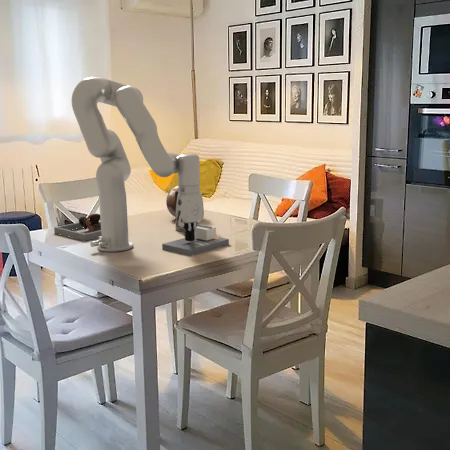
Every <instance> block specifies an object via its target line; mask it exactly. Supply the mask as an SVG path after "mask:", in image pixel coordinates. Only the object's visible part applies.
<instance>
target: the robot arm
mask: <svg viewBox="0 0 450 450" xmlns="http://www.w3.org/2000/svg"><path fill="white" fill-rule="evenodd" d="M98 103H101V104H102V103H103V104H104V105H105V104H106V105H109V106H112V107H116V109H117V111H118V112H119V113H120V115H121V117H122V118H123V119H124V121H125V122H126V124H127V125H128V128H129V129H130V131H131V133H132V134H133V136H134V138H135V141H136V143H137V145H138V148H139V150H140V151H141V153H142V156H143V157H144V159H145V161H146V162H147V164H148V165H149V167H150V168H151V170H152V171H153V172H154V174H156V176H158V177H160V178H168V177H170V176H172V175H173V174H177V182H178V183H177V186H178V189H177V191H178V196H177V203H176V219H177V221H178V226H180V227H183V229H184V230H185V231H184V238H185V240H186V241H190V242H191V241H194V240H195V229H196V225H197V224H198V223H199V224H200V223H201V222H202V220H204V218H205V210H204V209H205V208H204V199H203V194H202V192H201V180H200V179H201V178H200V177H201V175H200V169H201V168H200V166H201V165H200V156H199V155H197V154H196V153H183V154H180V153H174V152H168V151H167V150H166V148H165V147H164V146H163V143H162V141H161V140H160V136H159V133H158V127H157V124H156V121H155V119H154V118H153V116H152V115H151V113H150V112H149V110H148V109H147V106H146V105H145V104H144V95H143V93H142V92H141V90H139V88H137V87H135V86H132V85H128V84H124V83H121V82H117V81H114V80H110V79H108V78H103V77H98V76H97V77H95V76H90V77H86V78H84V79H82V80H80V82H79V83H78V84H76V85H75V88H74V89H73V91H72V95H71V107H72V111H73V113H74V114H73V115H74V117H75V119H76V121H77V124H78V126H79V129H80V132H81V135H82V137H83V140H84V142H85V145H86V147H87V150H88V152H89V153H90V155H92V156H93V157H95V158H99V159H100V162H101V164H99V165H98V167H97V169H96V173H95V181H96V186H97V192H98V204H99V214H100V220H99V222H101V236H100V237H99V238H97V240H92V241H91V242H90V243H89V244H90V247H91V248H94V247H97V249H98V250H99V251H101V252H108V253H109V252H110V253H111V252H113V253H114V252H123V251H127V250H130V249H132V248H133V247H134V243H133V242H132V241H129V225H128V205H127V191H126V187H125V182H126V181H127V180H128V179H129V177H130V176H131V172H132V171H131V170H132V168H131V165H130V162H129V159H128V157H127V154H126V151H125V149H124V146H123V144H122V142H121V140H120V137H119V136H118V134H117V133H116V132H115V131H113V130H111V129H108V128H107V126H106V123H105V120H104V118H103V115H102V113H101V112H100V110H99V108H98ZM176 219H175V220H176Z"/></svg>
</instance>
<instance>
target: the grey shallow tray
mask: <svg viewBox="0 0 450 450" xmlns="http://www.w3.org/2000/svg"><path fill="white" fill-rule="evenodd" d="M99 223H101V222H100V221H99ZM76 228H81V229H83V228H82V226H81V225H80V223H79V221H78V222H74V223H69V224H64V225H60V226H54V228H53V231H54V234H55V233H57V234H56V235H59V234H61V235H60V236H63V235H66V236H65V237H67V236H70V237H69V238H71V237H73V238H72V239H75V238H76V239H75V240H79V239H80V240H79V241H83V240H84V241H83V242H86V240H87V241H90V239H92V240H95V239H99V237H100V236H101V230H99V231H95V232H91V233H89V232H87V233H83V232H80V231H76V230H77V229H76ZM72 229H76V230H72ZM71 230H72V231H71Z"/></svg>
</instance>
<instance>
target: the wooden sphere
mask: <svg viewBox="0 0 450 450" xmlns="http://www.w3.org/2000/svg"><path fill="white" fill-rule="evenodd" d="M177 189H178V185H176V186H175V187H173V188H172V189H170V191H169V193H168V194H167V196H166V199H165V200H166V203H165V204H166V208H167V211H168V212H169V213H170V215H171V216H173V217H175V192H176V190H177Z"/></svg>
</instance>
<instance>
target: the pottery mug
mask: <svg viewBox="0 0 450 450" xmlns="http://www.w3.org/2000/svg"><path fill="white" fill-rule="evenodd" d="M78 222H79V223H80V225H81V226H82V227H84V228H83V229H84V230H85V231H86V230H87V229H88V233H91V232H95V231H100V230H101V223H99V222H100V213H91V214H89V215H88V216H87V217H86V216H80V217H79V219H78Z"/></svg>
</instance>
